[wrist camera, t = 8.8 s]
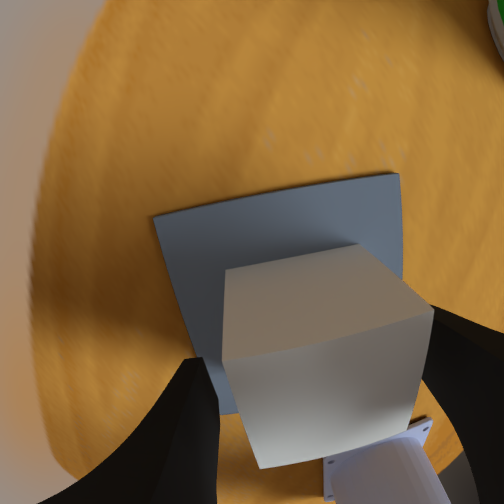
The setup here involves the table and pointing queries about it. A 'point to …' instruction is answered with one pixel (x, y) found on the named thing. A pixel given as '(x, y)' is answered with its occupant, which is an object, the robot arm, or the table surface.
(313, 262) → the cream block
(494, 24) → the soda can
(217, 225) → the mat
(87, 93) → the table surface
